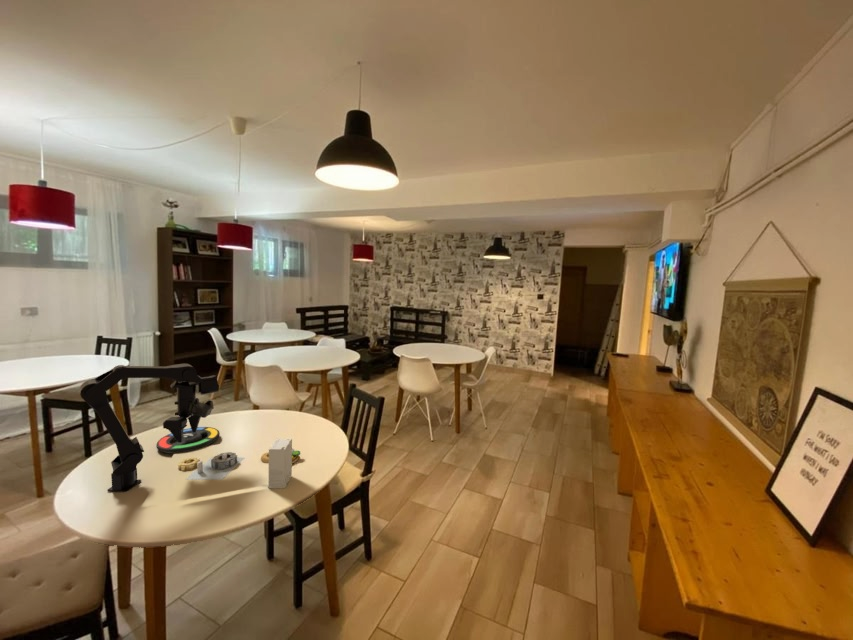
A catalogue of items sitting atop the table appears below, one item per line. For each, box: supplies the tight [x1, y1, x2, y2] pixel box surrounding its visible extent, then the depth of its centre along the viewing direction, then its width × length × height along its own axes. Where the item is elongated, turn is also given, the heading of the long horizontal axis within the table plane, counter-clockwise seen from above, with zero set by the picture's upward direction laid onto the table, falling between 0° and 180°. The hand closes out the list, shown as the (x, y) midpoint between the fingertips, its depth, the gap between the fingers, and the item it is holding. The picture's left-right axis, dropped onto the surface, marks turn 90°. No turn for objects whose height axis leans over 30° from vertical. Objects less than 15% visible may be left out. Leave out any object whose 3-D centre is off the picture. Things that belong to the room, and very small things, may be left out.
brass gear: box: [177, 457, 201, 472], centre depth 129 cm, size 7×7×3 cm
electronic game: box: [155, 426, 221, 455], centre depth 150 cm, size 23×23×5 cm
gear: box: [210, 451, 238, 470], centre depth 131 cm, size 9×9×3 cm
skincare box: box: [267, 438, 293, 489], centre depth 122 cm, size 8×6×15 cm
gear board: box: [185, 454, 245, 481], centre depth 128 cm, size 16×13×5 cm
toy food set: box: [260, 447, 301, 465], centre depth 138 cm, size 13×13×3 cm
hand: (187, 437), depth 129 cm, fingers open, 9 cm apart
